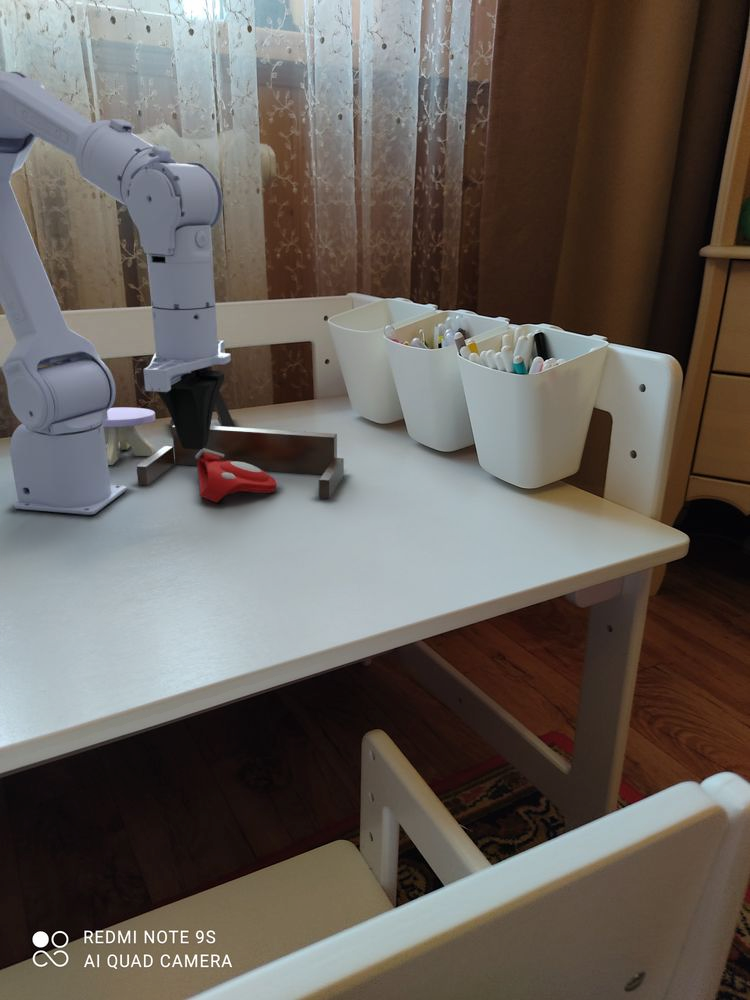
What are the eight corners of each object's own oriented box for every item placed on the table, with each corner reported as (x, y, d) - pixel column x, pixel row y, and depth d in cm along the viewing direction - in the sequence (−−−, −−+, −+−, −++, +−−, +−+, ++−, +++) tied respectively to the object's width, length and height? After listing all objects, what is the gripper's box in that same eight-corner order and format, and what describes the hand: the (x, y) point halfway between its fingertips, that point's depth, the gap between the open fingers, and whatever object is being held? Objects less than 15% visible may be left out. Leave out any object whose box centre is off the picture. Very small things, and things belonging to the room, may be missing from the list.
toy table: (169, 447, 106) (166, 406, 103) (139, 468, 97) (134, 425, 95) (104, 442, 107) (99, 402, 105) (68, 462, 99) (62, 419, 97)
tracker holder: (292, 473, 93) (255, 481, 84) (281, 507, 94) (244, 518, 85) (206, 439, 96) (161, 443, 86) (197, 472, 97) (152, 480, 87)
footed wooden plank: (138, 485, 92) (133, 445, 90) (171, 459, 101) (168, 422, 99) (329, 499, 88) (328, 458, 87) (346, 472, 97) (346, 434, 95)
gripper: (194, 319, 63) (205, 474, 68) (250, 297, 77) (256, 428, 82) (114, 315, 64) (131, 469, 69) (183, 294, 78) (193, 424, 83)
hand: (194, 447), depth 76 cm, fingers closed
